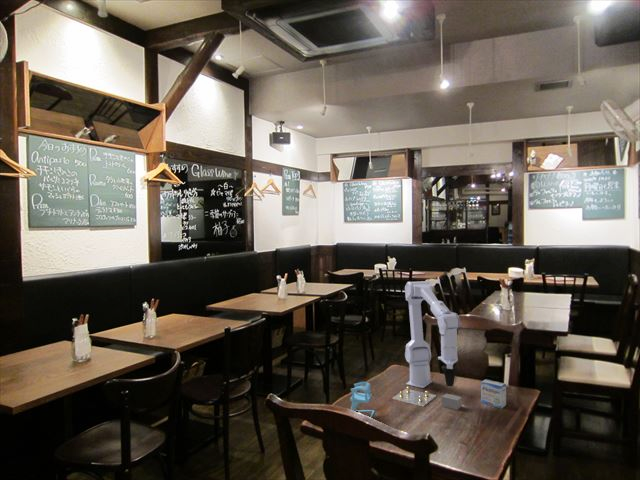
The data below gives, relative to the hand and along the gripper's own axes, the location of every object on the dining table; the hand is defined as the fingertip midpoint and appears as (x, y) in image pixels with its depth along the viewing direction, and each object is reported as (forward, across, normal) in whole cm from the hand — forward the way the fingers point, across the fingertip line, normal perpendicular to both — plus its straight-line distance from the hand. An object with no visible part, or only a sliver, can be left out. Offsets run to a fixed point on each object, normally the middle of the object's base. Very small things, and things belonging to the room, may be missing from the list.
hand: (449, 382), depth 163 cm
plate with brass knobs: (+9, -6, -13) cm, 17 cm away
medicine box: (+10, -6, +16) cm, 19 cm away
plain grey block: (+10, 0, +1) cm, 10 cm away
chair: (+10, +14, -31) cm, 35 cm away
